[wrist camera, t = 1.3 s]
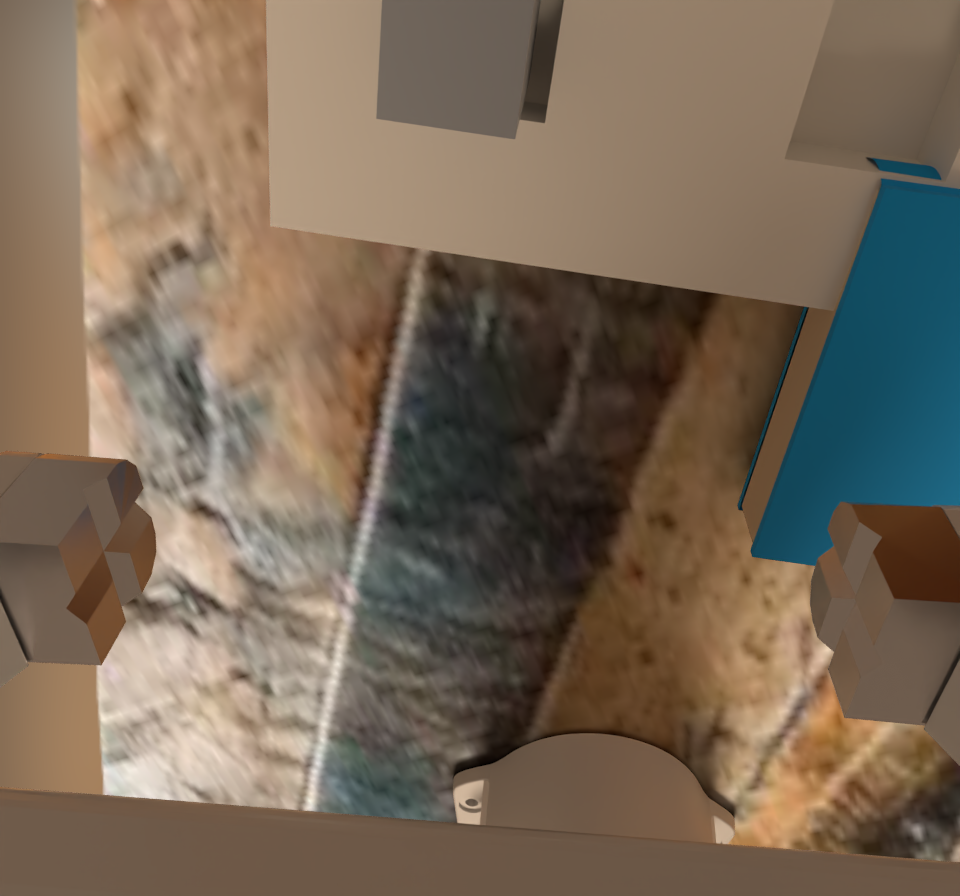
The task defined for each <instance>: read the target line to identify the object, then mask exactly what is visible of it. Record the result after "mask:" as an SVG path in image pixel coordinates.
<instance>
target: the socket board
mask: <svg viewBox="0 0 960 896" xmlns="http://www.w3.org/2000/svg"><path fill="white" fill-rule="evenodd" d="M381 12H382V0H266V32H267V83H268V134H269V185H270V226H273V227H279V228H286V229H293V230H299V231H306V232H312V233H319V234H326V235H332V236H339V237H346V238H352V239H359V240H366V241H372V242H379V243H386V244H392V245H399V246H406V247H412V248H419V249H425V250H432V251H439V252H445V253H452V254H459V255H465V256H472V257H479V258H485V259H492V260H499V261H505V262H512V263H519V264H525V265H532V266H538V267H545V268H552V269H558V270H565V271H572V272H578V273H585V274H592V275H598V276H605V277H612V278H618V279H625V280H632V281H638V282H645V283H651V284H658V285H665V286H671V287H678V288H685V289H691V290H698V291H705V292H711V293H718V294H725V295H731V296H738V297H745V298H751V299H758V300H764V301H771V302H778V303H784V304H791V305H798V306H804V307H811V308H818V309H824V310H831V311H834V308H835V306H836V303H837V300H838V298H839V295H840V292H841V290H842V287H843V284H844V281H845V279H846V276H847V273H848V271H849V268H850V265H851V263H852V260H853V257H854V254H855V252H856V249H857V246H858V244H859V241H860V238H861V236H862V233H863V230H864V227H865V225H866V222H867V219H868V217H869V214H870V211H871V209H872V206H873V203H874V200H875V198H876V195H877V192H878V190H879V188H880V187H881V185H882V184H881V178H883V179H890V180H898V181H905V182H913V183H920V184H927V185H935V186H942V187H949V188H957V189H960V0H541V3H540V10H539V17H538V24H537V31H536V38H535V45H534V52H533V59H532V66H531V73H530V80H529V84H528V88H527V92H526V96H525V100H524V105H523V109H522V113H521V117H520V121H519V125H518V129H517V134H516V138H515V139H509V138H502V137H495V136H488V135H482V134H475V133H468V132H461V131H455V130H448V129H441V128H435V127H428V126H421V125H414V124H408V123H401V122H394V121H388V120H381V119H376V114H377V94H378V73H379V53H380V32H381ZM867 157H869V158H867ZM872 158H876V159H884V160H891V161H899V162H906V163H914V164H921V165H928V166H932V167H934V168H935V169H936V170H937V171H938V173H939V174H940V176H941V179H942V180H937V179H930V178H924V177H918V176H911V175H905V174H899V173H892V172H886V171H879V168H878V165H877V164H876V162H875V161H874V160H873V159H872Z"/></svg>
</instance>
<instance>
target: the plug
mask: <svg viewBox="0 0 960 896" xmlns="http://www.w3.org/2000/svg"><path fill="white" fill-rule="evenodd" d="M540 3H541V0H382V12H381V32H380V53H379V73H378V94H377V114H376V119H381V120H388V121H394V122H401V123H408V124H414V125H421V126H428V127H435V128H441V129H448V130H455V131H461V132H468V133H475V134H482V135H488V136H495V137H502V138H509V139H515V138H516V134H517V129H518V125H519V121H520V117H521V113H522V109H523V105H524V100H525V96H526V92H527V88H528V84H529V80H530V73H531V66H532V59H533V52H534V45H535V38H536V31H537V24H538V17H539V10H540Z"/></svg>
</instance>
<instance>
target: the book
mask: <svg viewBox="0 0 960 896" xmlns="http://www.w3.org/2000/svg"><path fill="white" fill-rule="evenodd" d="M867 158H869V157H867ZM872 159H873V160H874V161H875V162H876V164H877V165H878V168H879V171H886V172H892V173H899V174H905V175H911V176H918V177H924V178H930V179H937V180H942V179H941V176H940V174H939V173H938V171H937V170H936V169H935V168H934V167H932V166H928V165H921V164H914V163H906V162H899V161H891V160H884V159H876V158H872ZM881 184H882V185H881V187H880V188H879V190H878V192H877V195H876V198H875V200H874V203H873V206H872V209H871V211H870V214H869V217H868V219H867V222H866V225H865V227H864V230H863V233H862V236H861V238H860V241H859V244H858V246H857V249H856V252H855V254H854V257H853V260H852V263H851V265H850V268H849V271H848V273H847V276H846V279H845V281H844V284H843V287H842V290H841V292H840V295H839V298H838V300H837V303H836V306H835V308H834V311H831V310H824V309H818V308H811V307H804V309H803V312H802V315H801V318H800V321H799V324H798V327H797V330H796V333H795V336H794V339H793V342H792V345H791V348H790V351H789V354H788V357H787V360H786V363H785V366H784V369H783V371H782V374H781V377H780V380H779V383H778V386H777V389H776V392H775V395H774V398H773V401H772V404H771V407H770V410H769V413H768V416H767V419H766V422H765V425H764V428H763V431H762V434H761V437H760V440H759V443H758V446H757V449H756V452H755V455H754V458H753V461H752V464H751V467H750V470H749V473H748V476H747V479H746V482H745V485H744V488H743V491H742V494H741V497H740V500H739V503H738V509H739V510H742V511H743V512H744V515H745V518H746V522H747V525H748V528H749V532H750V535H751V539H752V542H753V545H752V547H751V554H752V557H757V558H764V559H771V560H778V561H785V562H792V563H799V564H806V565H813V566H816V562H817V559H818V558H819V557H820V556H821V555H823V554H824V553H825V552H827V551H828V550H829V549H831V548H832V547H833V546H834V544H833V542H832V539H831V537H830V534H829V531H828V526H829V523H830V520H831V517H832V514H833V512H834V510H835V509H836V507H837V506H838V505H839V503H840V502H841V501H843V502H862V503H880V504H899V505H918V506H933V505H954V506H960V189H957V188H949V187H942V186H935V185H927V184H920V183H913V182H905V181H898V180H890V179H883V178H881Z"/></svg>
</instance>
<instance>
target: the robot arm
mask: <svg viewBox="0 0 960 896" xmlns="http://www.w3.org/2000/svg"><path fill="white" fill-rule="evenodd" d="M142 490H143V485H142V482H141V479H140V476H139V473H138V470H137V467H136V465H134V464H132V463H131V462H129V461H128V460H124V459H111V458H99V457H85V456H74V455H61V454H41V453H30V452H14V451H5V452H1V453H0V687H2V686H3V685H4V684H6V683H7V682H8V681H9V680H11V679H12V678H13V677H15V676H16V675H17V674H18V673H20V672H21V671H23V670H24V669H25V668H26V667H28V662H39V663H63V664H85V665H102V663H103V662H104V660H105V658H106V656H107V654H108V653H109V651H110V649H111V647H112V646H113V644H114V642H115V640H116V638H117V637H118V635H119V633H120V631H121V630H122V628H123V626H124V624H125V623H126V620H125V616H124V613H123V610H122V607H121V606H123V605H124V604H126V603H127V602H129V601H131V600H132V599H134V598H135V597H137V596H138V595H140V594H142V592H143V590H144V588H145V586H146V584H147V582H148V580H149V579H150V577H151V574H152V569H153V565H154V560H155V556H156V534H155V530H154V526H153V522H152V518H151V517H150V516H149V515H148V514H147V513H146V512H145V511H144V510H143V509H142V508H141V507H140V506H139V505H137V504H136V503H135V501H136V499H137V498H138V496H139V494H140V493H141V491H142ZM828 531H829V534H830V537H831V539H832V542H833V544H834V546H833V547H832V548H831V549H829V550H828V551H827V552H825V553H824V554H823V555H821V556H820V557H819V558H818V559H817V562H816V566H815V569H814V573H813V576H812V580H811V596H810V606H811V613H812V620H813V624H814V627H815V630H816V633H817V637H818V638H819V639H820V640H821V641H822V642H823V643H824V644H826V645H827V646H828V647H829V648H830V649H831V650H833V651H834V654H833V657H832V660H831V663H830V665H829V668H828V670H829V673H830V676H831V679H832V682H833V685H834V688H835V691H836V694H837V697H838V700H839V703H840V706H841V709H842V712H843V715H844V718H853V719H863V720H873V721H884V722H894V723H904V724H915V725H925V728H924V730H925V731H926V732H927V733H928V734H929V735H930V736H931V737H932V738H933V739H934V740H935V741H936V742H937V743H938V744H939V745H940V746H941V747H942V748H943V749H944V750H945V751H946V752H947V753H948V754H949V755H950V756H951V757H952V758H953V759H954V760H955V761H956V762H957V763H958V765H959V766H960V506H954V505H933V506H918V505H899V504H880V503H862V502H843V501H841V502H840V503H839V505H838V506H837V507H836V509H835V510H834V512H833V514H832V517H831V520H830V523H829V526H828ZM453 797H454V804H455V810H456V817H457V823H452V822H439V821H426V820H414V819H401V818H388V817H376V816H363V815H351V814H338V813H325V812H313V811H300V810H287V809H275V808H262V807H250V806H237V805H224V804H212V803H199V802H186V801H174V800H161V799H148V798H135V797H123V796H110V795H96V794H84V793H72V792H59V791H47V790H34V789H21V788H9V787H0V896H960V862H947V861H934V860H922V859H909V858H897V857H884V856H871V855H859V854H846V853H834V852H821V851H808V850H795V849H783V848H770V847H757V846H744V845H731V844H728V843H729V842H730V840H731V839H732V838H733V837H734V835H735V821H734V817H733V816H732V814H731V813H730V812H729V811H727V810H726V809H725V808H723V807H722V806H720V805H719V804H717V803H716V802H714V801H713V800H711V799H709V798H708V796H707V795H706V794H705V793H704V791H703V789H702V788H701V786H700V784H699V782H698V780H697V779H696V777H695V776H694V775H693V773H692V772H691V771H690V770H689V769H688V768H687V767H686V766H685V765H684V764H683V763H682V762H680V761H679V760H678V759H676V758H675V757H673V756H672V755H670V754H669V753H667V752H665V751H663V750H661V749H659V748H657V747H655V746H652V745H650V744H647V743H644V742H641V741H638V740H634V739H630V738H626V737H621V736H616V735H608V734H596V733H578V734H566V735H559V736H553V737H548V738H545V739H541V740H538V741H535V742H532V743H529V744H527V745H525V746H522V747H520V748H518V749H517V750H515V751H513V752H511V753H510V754H508V755H507V756H505V757H504V758H502V759H500V760H499V761H497V762H495V763H492V764H489V765H484V766H480V767H475V768H471V769H467V770H464V771H462V772H459V773H458V774H456V775H455V777H454V779H453Z"/></svg>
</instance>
